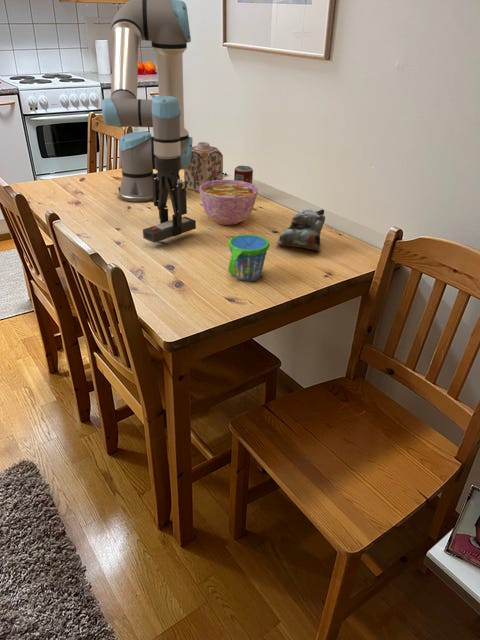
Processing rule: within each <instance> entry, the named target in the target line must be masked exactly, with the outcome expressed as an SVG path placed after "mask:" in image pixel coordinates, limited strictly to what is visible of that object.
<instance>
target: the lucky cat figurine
mask: <svg viewBox="0 0 480 640" xmlns="http://www.w3.org/2000/svg"><path fill="white" fill-rule="evenodd" d="M325 222H326V216H325V209H320V210H315V209H311V208H309V209H303V210H302V211H300V212H297V213H296V214H294V216H293V217H292V219H291V222H290V224H289V227H287V229H286V230H284V231H283V232H282V233H281V234H280V235H279V237H278V242H276V243H275V244H276V245H278V246H279V247H281V246H285V247H297V248H303V249H306V250H312V251H315V252H319V251H320V249H321V246H322V243H321V231H322V229H323V226H324V225H325Z"/></svg>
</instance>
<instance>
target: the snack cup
mask: <svg viewBox="0 0 480 640" xmlns="http://www.w3.org/2000/svg"><path fill="white" fill-rule="evenodd" d="M228 247H229V250H230V253H231V254H230V258H229V263H228V269H227V270H228V273H229V274H230V275H232V276H234V277H235V278H236V279H238V280H239V281H245V282H255V281H256V280H258V279H260V277H262V274H263V269H264V266H265V265H264V264H265V260H266V256H267V253H268V250H269V248H270V243H269V241H268V239H266V238H265V237H263V236H260V235H257V234H238V235H234V236H233V237H231V238H230V239H229V241H228Z"/></svg>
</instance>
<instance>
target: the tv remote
mask: <svg viewBox="0 0 480 640" xmlns="http://www.w3.org/2000/svg"><path fill="white" fill-rule="evenodd" d="M196 229H197V220H196V219H194V218H190V217H188V216H185V215H183V216H182V225H181V235H182V234H185V233H188V232H190V231H193V230H194V231H195V230H196ZM142 237H143V239H145V240H147V241H149V242H152V243H153V244H155V243H157V242H161V241H164V240H167V239H170V238H172V237H174V236H173V221H172V219H171V220H168V222H164V223H161V224H160V223H157V224H155V225H153V226H149V227H146V228H143V229H142Z"/></svg>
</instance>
